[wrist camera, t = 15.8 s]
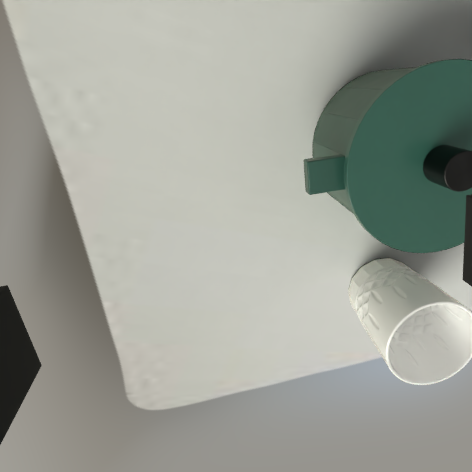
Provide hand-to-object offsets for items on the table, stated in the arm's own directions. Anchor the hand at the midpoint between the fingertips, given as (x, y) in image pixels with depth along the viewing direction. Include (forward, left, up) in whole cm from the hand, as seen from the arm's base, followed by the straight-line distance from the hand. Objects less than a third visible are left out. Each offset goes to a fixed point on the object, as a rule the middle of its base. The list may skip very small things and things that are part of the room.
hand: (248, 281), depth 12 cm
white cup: (-1, +22, -26) cm, 34 cm away
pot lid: (-10, +11, -16) cm, 23 cm away
